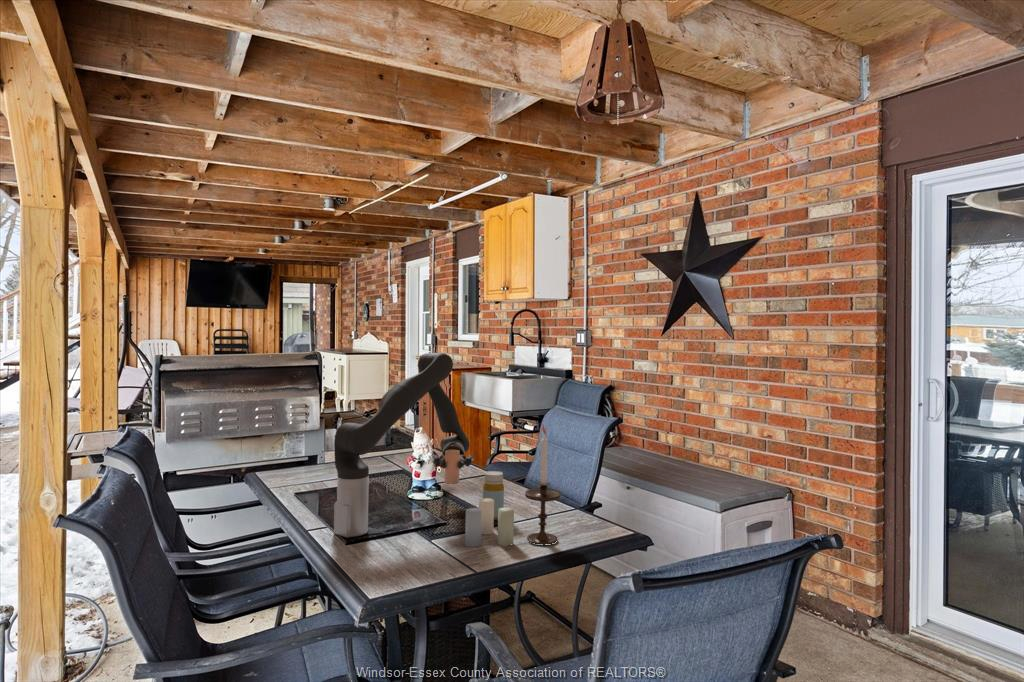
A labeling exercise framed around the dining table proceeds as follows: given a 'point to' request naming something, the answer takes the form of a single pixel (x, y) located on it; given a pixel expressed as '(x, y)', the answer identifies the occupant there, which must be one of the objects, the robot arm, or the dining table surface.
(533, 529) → the dining table surface
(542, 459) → the candlestick
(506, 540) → the sage canister
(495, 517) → the bottle
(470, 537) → the dusty blue canister
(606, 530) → the dining table surface
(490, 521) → the cream canister
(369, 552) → the dining table surface
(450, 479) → the terracotta canister
